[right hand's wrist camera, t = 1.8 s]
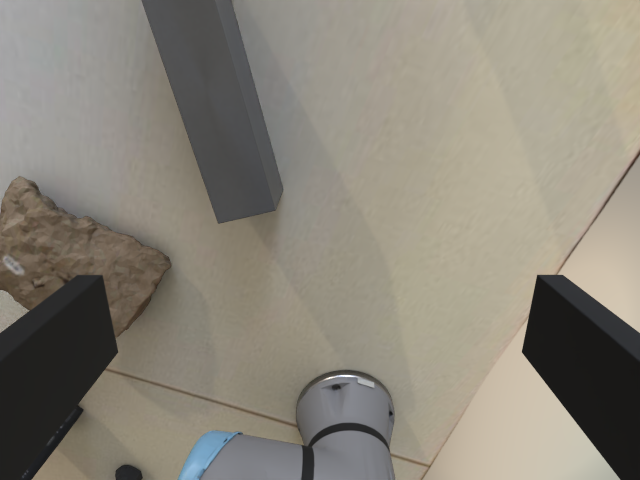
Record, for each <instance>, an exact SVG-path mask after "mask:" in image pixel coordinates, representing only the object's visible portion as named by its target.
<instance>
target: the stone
mask: <svg viewBox="0 0 640 480" xmlns="http://www.w3.org/2000/svg"><path fill="white" fill-rule="evenodd" d="M170 267H171V262H170V260H169V257H168V256H166V255H164V254H163V253H161V252H160V251H158V250H156V249H153V248H151V247H148V246H144V245H142V244H141V243H140V242H138V241H137V240H136V239H135V238H134V237H132V236H129V235H124V234H119V233H116V232H113V231H112V230H110V229H109V228H108V227H106V226H103V225H101V224H99V223H97V222H96V221H95V220H93V219H92V218H90V217H88V216H85V217H83V218H77V217H76V216H74V215H71V214H68V213H67V212H66V211H65V210H64V209H62V208H58V207H57V206H56V204H55V203H54V202H53V201H52V200H51V199H50V198H49V197H47V196H44V195H41V193H40V191H39V189H38V187H37V185H36V184H35V182H33V181H30V180H27V179H25V178H23V177H20V176H19V177H18V178H16V179H15V180H13V181H12V182H11V184H10V186H9V188H8V189H7V191H6V192H5V196H4V198H3V200H2V205H1V213H0V290H4V291H7V292H8V293H9V294H10V295H12V296H13V298H14V300H15V301H17V302H19V303H20V304H21V305H22V306H23V307H25V308H27V309H28V310H32V309H33V308H34V307H36V306H37V305H38V304H40V303H41V302H42V301H44V300H45V299H46V298H47V297H49V296H50V295H51V294H53V293H54V292H55V291H57V290H58V289H59V288H61V287H62V286H63V285H65V284H66V283H67V282H69V281H70V280H71V279H73V278H74V277H75V276H77V275H103V279H104V284H105V289H106V294H107V299H108V304H109V309H110V314H111V319H112V324H113V329H114V334H115V337H118V336H119V335H120V334H121V333H122V332H124V331H125V330H127V329H128V328H129V327H130V325H131V324H132V323H133V322H134V321H135V320H136V319H137V318H138V316H140V315H141V314H142V312H143V311H144V309H145V308H146V306H147V305H148V303H149V302H150V300H151V295H152V294H153V293H154V292H155V290H156V289H157V285H158V284H159V282H160V281H161V278H162V276H163V274H164V272H165V271H166V270H168V269H169V268H170Z"/></svg>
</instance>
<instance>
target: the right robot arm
mask: <svg viewBox="0 0 640 480" xmlns="http://www.w3.org/2000/svg"><path fill="white" fill-rule="evenodd" d="M117 353H118V349H117V344H116V339H115V334H114V329H113V324H112V319H111V314H110V309H109V304H108V299H107V294H106V289H105V284H104V279H103V275H77V276H75V277H74V278H73V279H71V280H70V281H69V282H67V283H66V284H65V285H63V286H62V287H61V288H59V289H58V290H57V291H55V292H54V293H53V294H51V295H50V296H49V297H47V298H46V299H45V300H44V301H42V302H41V303H40V304H38V305H37V306H36V307H34V308H33V309H32V310H30V311H29V312H28V313H26V314H25V315H24V316H22V317H21V318H20V319H18V320H17V321H16V322H14V323H13V324H12V325H10V326H9V327H8V328H7V329H5V330H4V331H3V332H1V333H0V480H20V478H21V477H22V476H23V474H24V473H25V472H26V471H27V469H28V468H29V467H30V465H31V464H32V463H33V461H34V460H35V459H36V458H37V456H38V455H39V454H40V452H41V451H42V450H43V449H44V447H45V446H46V445H47V443H48V442H49V441H50V440H51V438H52V437H53V436H54V434H55V433H56V432H57V430H58V429H59V428H60V427H61V425H62V424H63V423H64V421H65V420H66V419H67V418H68V416H69V415H70V414H71V412H72V411H73V410H74V409H75V407H76V406H77V405H78V403H79V402H80V401H81V399H82V398H83V397H84V396H85V394H86V393H87V392H88V390H89V389H90V388H91V387H92V385H93V384H94V383H95V381H96V380H97V379H98V378H99V376H100V375H101V374H102V372H103V371H104V370H105V368H106V367H107V366H108V365H109V363H110V362H111V361H112V359H113V358H114V357H115V356H116V354H117ZM522 353H523V354H524V356H525V357H526V358H527V359H528V361H529V362H530V363H531V365H532V366H533V367H534V368H535V370H536V371H537V372H538V374H539V375H540V376H541V377H542V379H543V380H544V381H545V383H546V384H547V385H548V387H549V388H550V389H551V390H552V392H553V393H554V394H555V396H556V397H557V398H558V399H559V401H560V402H561V403H562V405H563V406H564V407H565V408H566V410H567V411H568V412H569V414H570V415H571V416H572V417H573V419H574V420H575V421H576V423H577V424H578V425H579V427H580V428H581V429H582V430H583V432H584V433H585V434H586V436H587V437H588V438H589V440H590V441H591V442H592V443H593V445H594V446H595V447H596V449H597V450H598V451H599V452H600V454H601V455H602V456H603V457H604V459H605V460H606V461H607V463H608V464H609V465H610V467H611V468H612V469H613V471H614V472H615V473H616V474H617V476H618V477H619V478H620V480H640V333H639V332H637V331H636V330H635V329H633V328H632V327H631V326H630V325H628V324H627V323H625V322H624V321H623V320H622V319H620V318H619V317H618V316H616V315H615V314H614V313H612V312H611V311H610V310H608V309H607V308H606V307H604V306H603V305H602V304H600V303H599V302H598V301H596V300H595V299H594V298H592V297H591V296H590V295H589V294H587V293H586V292H584V291H583V290H582V289H581V288H579V287H578V286H577V285H575V284H574V283H573V282H571V281H570V280H569V279H567V278H566V277H565V276H563V275H537V279H536V284H535V289H534V294H533V299H532V304H531V309H530V314H529V319H528V324H527V329H526V334H525V339H524V344H523V349H522ZM296 421H297V426H298V429H299V432H300V434H301V436H302V439H303V442H304V446H303V445H298V444H293V443H287V442H282V441H276V440H271V439H265V438H260V437H254V436H249V435H243V433H242V432H234V433H231V432H224V431H216V430H215V431H209V432H208V433H206V434H204V435H203V436H202V437H200V438H199V440H198V441H197V442H196V444H195V445H194V447H193V449H192V450H191V452H190V454H189V456H188V458H187V460H186V462H185V464H184V466H183V468H182V471H181V473H180V475H179V477H178V480H395V475H394V470H393V465H392V460H391V455H390V450H389V445H390V440H391V435H392V430H393V425H394V407H393V402H392V399H391V396H390V394H389V392H388V390H387V389H386V388H385V386H384V385H383V384H382V383H381V382H379V381H378V380H377V379H375V378H374V377H372V376H370V375H367V374H365V373H361V372H357V371H350V370H342V371H334V372H330V373H327V374H324V375H321V376H319V377H317V378H316V379H314V380H313V381H311V382H310V383H309V384H308V385H307V386H306V387H305V388H304V389H303V391H302V392H301V394H300V396H299V399H298V402H297V410H296Z"/></svg>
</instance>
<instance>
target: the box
mask: <svg viewBox="0 0 640 480" xmlns="http://www.w3.org/2000/svg"><path fill="white" fill-rule="evenodd" d="M142 3H143V6H144V9H145V12H146V14H147V17H148V20H149V23H150V26H151V29H152V32H153V35H154V38H155V41H156V44H157V47H158V49H159V52H160V55H161V58H162V61H163V64H164V67H165V70H166V73H167V76H168V79H169V81H170V84H171V87H172V90H173V93H174V96H175V99H176V102H177V105H178V108H179V111H180V114H181V116H182V119H183V122H184V125H185V128H186V131H187V134H188V137H189V140H190V143H191V146H192V148H193V151H194V154H195V157H196V160H197V163H198V166H199V169H200V172H201V175H202V178H203V180H204V183H205V186H206V189H207V192H208V195H209V198H210V201H211V204H212V207H213V210H214V213H215V215H216V218H217V221H218V224H219V223H224V222H228V221H232V220H237V219H241V218H245V217H250V216H254V215H258V214H263V213H267V212H271V211H275V210H276V208H277V205H278V202H279V200H280V197H281V194H282V191H283V186H282V183H281V179H280V175H279V172H278V168H277V164H276V161H275V157H274V154H273V150H272V146H271V143H270V139H269V135H268V132H267V128H266V125H265V121H264V117H263V114H262V110H261V106H260V103H259V99H258V96H257V92H256V88H255V85H254V81H253V77H252V74H251V70H250V67H249V63H248V59H247V56H246V52H245V48H244V45H243V41H242V38H241V34H240V30H239V27H238V23H237V19H236V16H235V12H234V9H233V5H232V1H231V0H142Z"/></svg>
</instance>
